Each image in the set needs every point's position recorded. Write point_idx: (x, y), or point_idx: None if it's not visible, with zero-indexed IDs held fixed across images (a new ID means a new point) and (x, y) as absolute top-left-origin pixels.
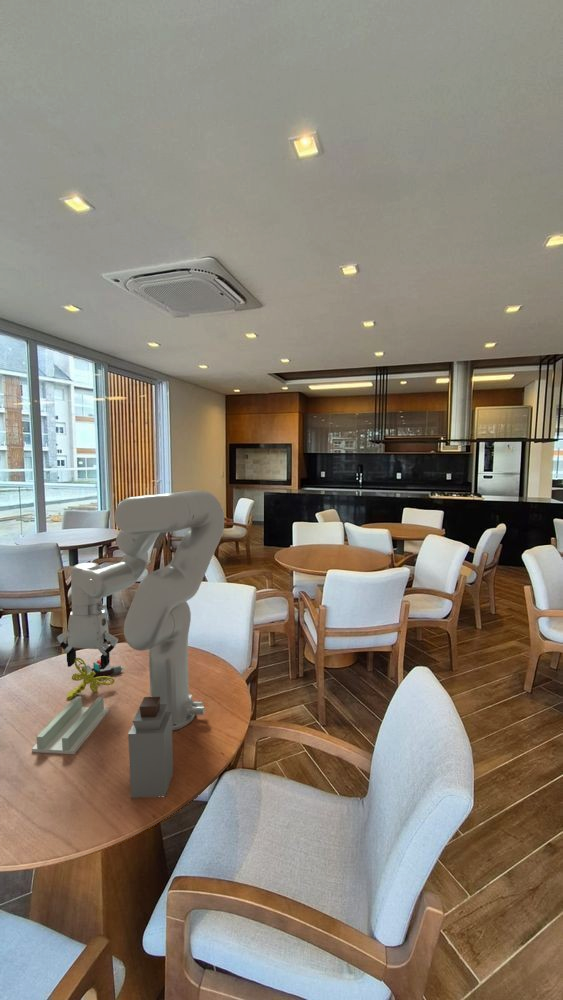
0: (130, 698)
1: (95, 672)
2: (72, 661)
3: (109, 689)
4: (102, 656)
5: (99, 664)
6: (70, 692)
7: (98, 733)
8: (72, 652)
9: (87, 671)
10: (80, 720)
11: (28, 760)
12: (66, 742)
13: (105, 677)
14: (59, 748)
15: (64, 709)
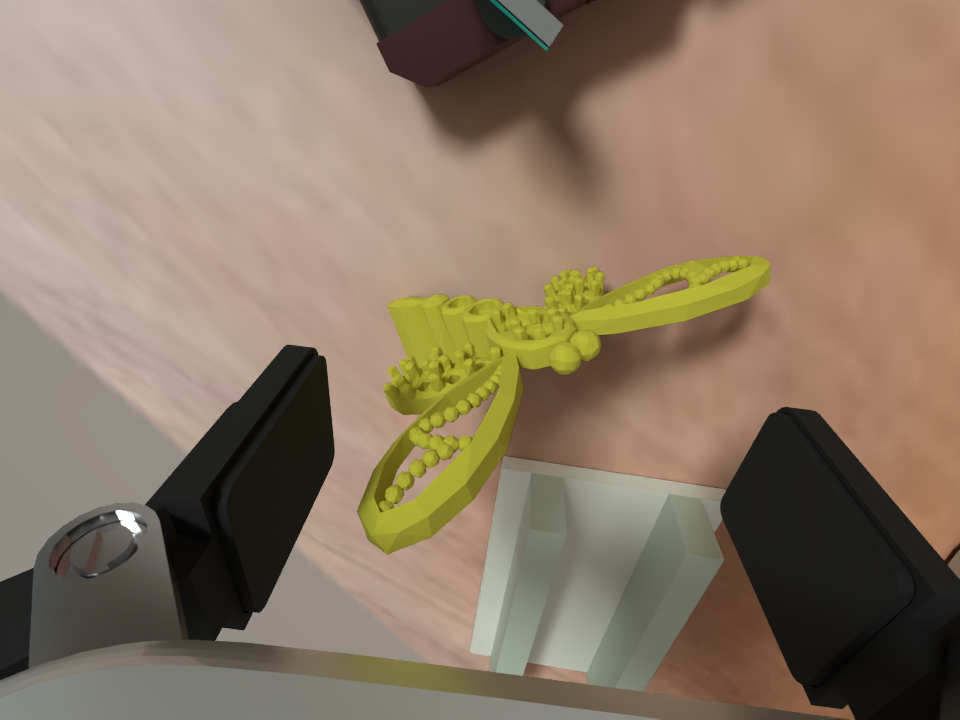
0: (872, 386)
1: (504, 42)
2: (314, 450)
3: (692, 259)
4: (835, 705)
5: (560, 27)
6: (408, 327)
7: (697, 604)
8: (249, 566)
9: (395, 9)
10: (635, 678)
11: (482, 661)
12: None
13: (694, 308)
14: (571, 664)
15: (516, 613)
